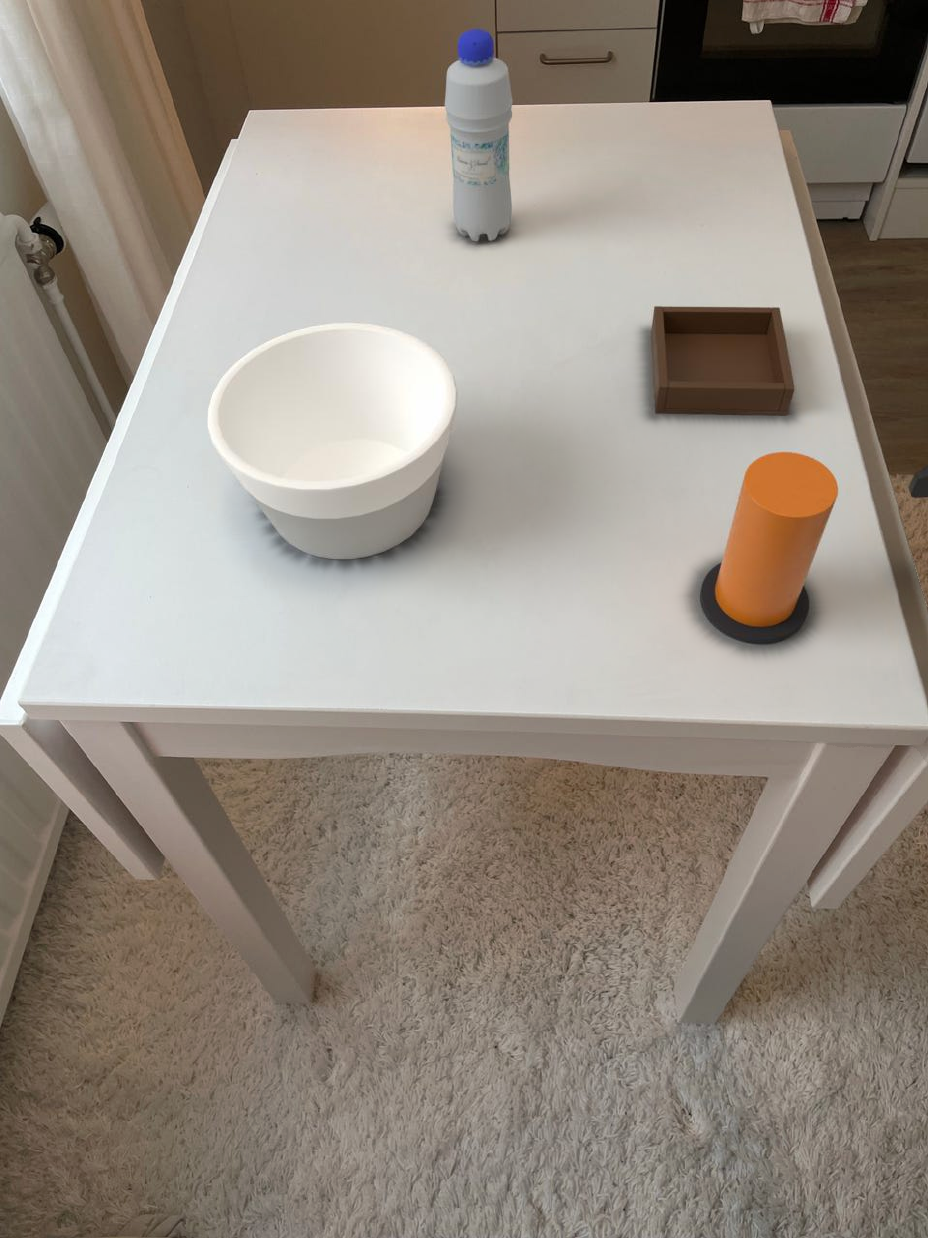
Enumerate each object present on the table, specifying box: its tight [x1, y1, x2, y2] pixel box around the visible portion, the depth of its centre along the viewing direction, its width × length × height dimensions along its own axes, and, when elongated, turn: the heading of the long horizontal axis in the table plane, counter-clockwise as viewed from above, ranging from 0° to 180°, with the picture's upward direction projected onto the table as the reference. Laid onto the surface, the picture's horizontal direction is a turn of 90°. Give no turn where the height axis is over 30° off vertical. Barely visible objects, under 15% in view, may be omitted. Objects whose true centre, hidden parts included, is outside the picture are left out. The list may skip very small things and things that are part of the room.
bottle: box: [444, 28, 514, 242], centre depth 97 cm, size 7×7×20 cm
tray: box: [650, 305, 795, 416], centre depth 88 cm, size 12×12×3 cm
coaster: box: [699, 561, 810, 645], centre depth 73 cm, size 8×8×1 cm
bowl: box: [207, 322, 458, 560], centre depth 77 cm, size 19×19×11 cm
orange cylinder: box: [715, 451, 839, 627], centre depth 68 cm, size 6×6×12 cm
